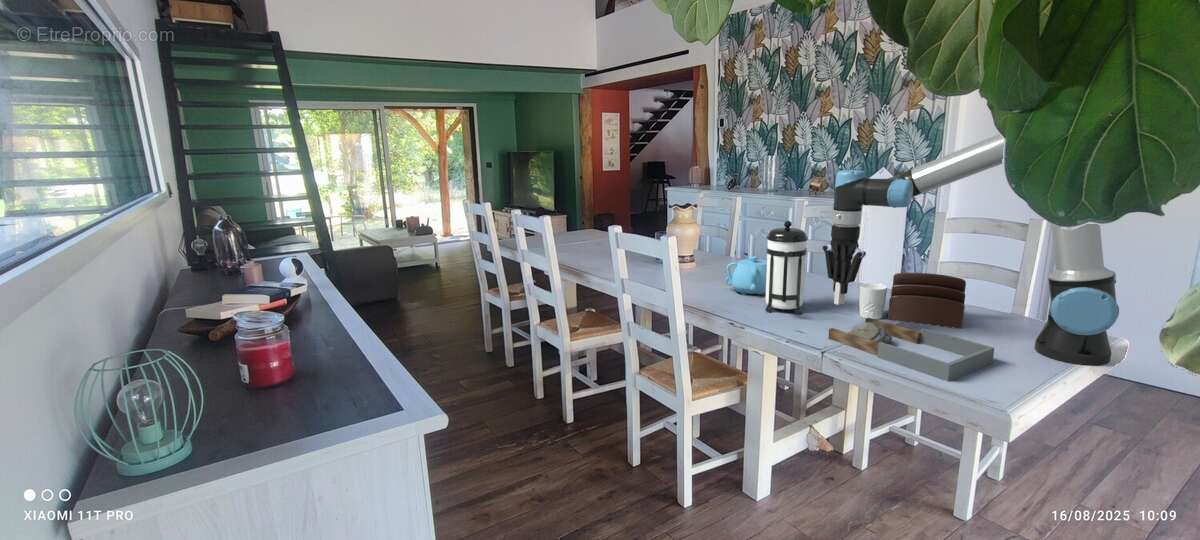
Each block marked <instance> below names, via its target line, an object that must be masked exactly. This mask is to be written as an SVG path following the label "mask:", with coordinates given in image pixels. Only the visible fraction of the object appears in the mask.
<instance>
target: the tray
mask: <svg viewBox="0 0 1200 540" xmlns="http://www.w3.org/2000/svg"><path fill="white" fill-rule="evenodd" d="M920 332H921V338H920V343H919V344H922V345H923V344H924V345H927V346H930V347H933V348H937V349H941V350H944V351H947V352H950V353H953V354H958V355H961V356H963V357H960V358H958V359H954V360H952V361H950V362H945V361H943V360H940V359H936V358H933V357H930V356H927V355H924V354H920V353H917V352H914V351H911V350H907V349H905V348H901V347H898V346H895V345H891V344H889V343H883V342H879V344H878V355H876V357H877V358H878V359H881V360H884V361H887V362H891V363H894V364H896V365H899V366H902V367H906V368H908V369H911V370H914V371H916V372H918V373H923V374H926V375H929V376H932V377H934V378H937V379H940V380H943V381H946V382H949V381H952V380H954V379H957V378H959V377H961V376H964V375H966V374H969V373H970V372H974V371H976V370H979V369H980V368H983V367H985V366H987V365H990V364H993V363H994V362H993V361H994V355H995V347H994V346H989V345H986V344H982V343H979V342H974V341H972V340H967V339H964V338H960V337H956V336H953V335H949V334H946V333H942V332H938V331H935V330H931V329H928V328H921V330H920Z"/></svg>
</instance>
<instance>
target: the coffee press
mask: <svg viewBox="0 0 1200 540" xmlns="http://www.w3.org/2000/svg"><path fill="white" fill-rule="evenodd" d="M791 226H792V222H791V221H790V220H786V221H784V222H783V227H778V228H773V229H772V230H770V231H769V232H768V235H767V236H766V240H767V247H766V261H767V274H766V293H765V303H766V304H767V306H766V307H765V312H767V313H772V311H773V310H774V309H778V310H792V311H794V313H795V315H796V316H797V315H801V314H802V313H803V310H802V308H801V307H802V306H803V304H804V303H803V302H804V289H805V287H804V286H805V285H804V284H805V275H806V274H805V273H806V272H805V270H806V255H807V250H808V249H807V242H808V241H809V240H808V239H809V237H808V236H807V234H806V232H805V231H804V230H803V229H799V228H796V227H795V228H794V227H791Z"/></svg>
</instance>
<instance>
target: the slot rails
mask: <svg viewBox="0 0 1200 540" xmlns="http://www.w3.org/2000/svg"><path fill="white" fill-rule="evenodd" d="M865 322H869V323H877V324H880V325H881V326H883V329H884V330H886V332H887V333H888V334H889V335H891V336H892V338H893V337H894V338H897V339H900V340H904V341H907V342H911V343H914V344H921V343H920V338H921V331H917V330H914V329H911V328H907V327H903V326H900V325H896V324H892V323H889V322H886V321H882V320H880V319H872V318H865ZM830 339H831V341H833V340H834V341H833V342H836V341H837V343H839V342H840V344H842V343H843V344H842V345H845V344H846V345H845V346H848V345H849V347H851V346H852V348H854V347H855V348H854V349H857V350H859V351H863V352H866V353H868V354H872V355H875V356H877V355H878V344H879V343H878V342H875V341H872V340H869V339H866V338H862V337H859V336H856V335H853V334H850V333H848V332H846V331H844V330H840V329H837V328H834V327H831V328H829V329H828V340H830Z"/></svg>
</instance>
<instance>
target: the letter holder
mask: <svg viewBox="0 0 1200 540" xmlns="http://www.w3.org/2000/svg"><path fill="white" fill-rule="evenodd" d="M892 278H893V279H892V286H891V291H890V298H889V303H888V313H887V320H888V319H889V320H890V321H895V320H898V321H897V322H903V321H905V323H911V322H913V324H919V323H921V325H922V324H923V325H927V324H931V325H930V326H935V325H939V326H938V327H944V326H947V327H946V328H952V327H954V328H955V329H963V326H964V325H963V324H964V318H965V316H964V315H965V308H966V305H965V301H966V300H965V299H966V288H967V287H966V285H967V281H966V280H965V279H964V278H961V277H957V276H952V275H945V274H936V273H929V272H896V273H894V274H893V277H892ZM889 320H888V321H889Z"/></svg>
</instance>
